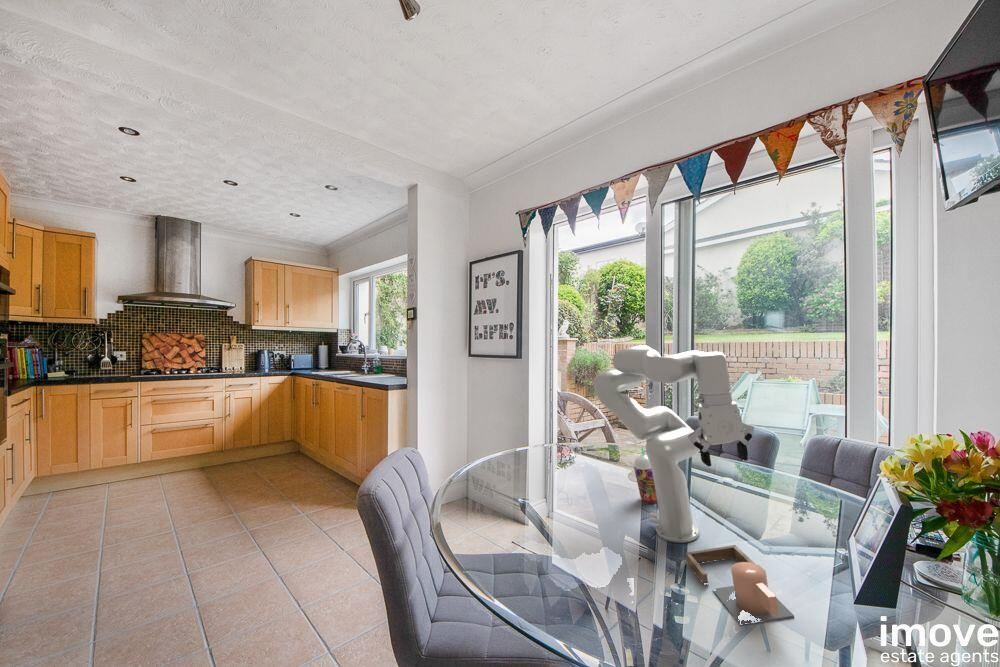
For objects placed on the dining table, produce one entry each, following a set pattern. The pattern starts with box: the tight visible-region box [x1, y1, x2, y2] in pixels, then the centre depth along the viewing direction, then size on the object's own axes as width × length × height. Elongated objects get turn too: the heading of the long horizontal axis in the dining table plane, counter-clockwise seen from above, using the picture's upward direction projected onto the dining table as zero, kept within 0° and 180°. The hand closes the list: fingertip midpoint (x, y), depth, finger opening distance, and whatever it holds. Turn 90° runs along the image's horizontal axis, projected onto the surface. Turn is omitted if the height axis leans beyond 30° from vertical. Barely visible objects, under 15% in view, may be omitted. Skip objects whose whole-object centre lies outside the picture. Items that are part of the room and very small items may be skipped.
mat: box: [713, 585, 795, 624], centre depth 97 cm, size 12×12×1 cm
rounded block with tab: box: [730, 561, 779, 616], centre depth 94 cm, size 12×7×8 cm, turn 0°
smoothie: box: [632, 447, 657, 504], centre depth 155 cm, size 8×8×20 cm
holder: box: [685, 544, 756, 584], centre depth 110 cm, size 10×14×3 cm
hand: (725, 461), depth 111 cm, fingers open, 9 cm apart
